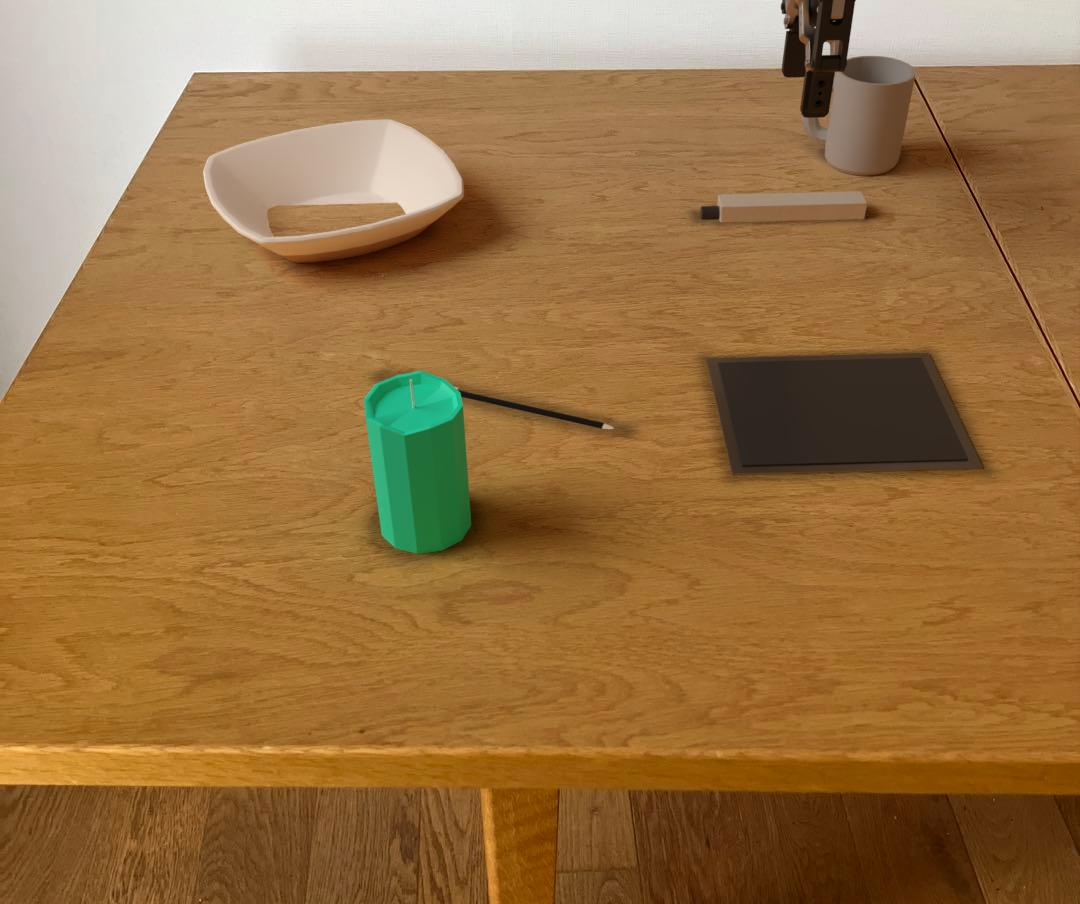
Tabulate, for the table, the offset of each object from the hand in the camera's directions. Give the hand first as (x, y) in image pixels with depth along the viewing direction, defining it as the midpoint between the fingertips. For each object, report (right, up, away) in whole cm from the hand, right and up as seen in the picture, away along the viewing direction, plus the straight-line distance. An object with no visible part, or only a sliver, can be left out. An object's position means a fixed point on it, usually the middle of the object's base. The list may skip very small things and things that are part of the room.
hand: (803, 95), depth 100 cm
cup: (+8, 0, +18) cm, 20 cm away
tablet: (-1, -29, -14) cm, 32 cm away
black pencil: (-25, -28, -12) cm, 39 cm away
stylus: (0, -8, +8) cm, 12 cm away
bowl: (-41, -9, +9) cm, 42 cm away
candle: (-30, -37, -22) cm, 52 cm away
